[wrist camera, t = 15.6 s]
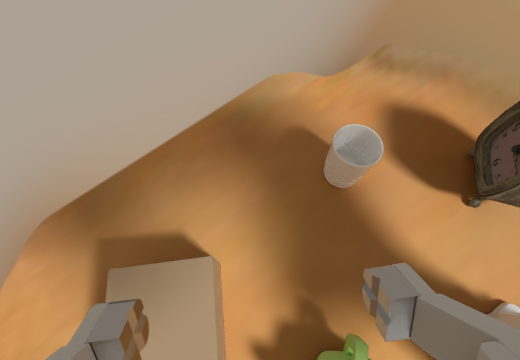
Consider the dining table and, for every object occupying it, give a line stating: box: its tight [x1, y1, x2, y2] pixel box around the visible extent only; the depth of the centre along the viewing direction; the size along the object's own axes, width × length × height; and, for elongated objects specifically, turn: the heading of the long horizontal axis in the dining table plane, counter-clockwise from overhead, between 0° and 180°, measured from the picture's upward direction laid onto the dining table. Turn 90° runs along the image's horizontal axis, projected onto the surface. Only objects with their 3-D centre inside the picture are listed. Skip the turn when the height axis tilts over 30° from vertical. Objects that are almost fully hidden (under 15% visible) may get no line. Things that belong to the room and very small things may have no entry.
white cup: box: [323, 124, 383, 188], centre depth 47 cm, size 8×8×10 cm
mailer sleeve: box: [105, 256, 226, 360], centre depth 37 cm, size 18×14×8 cm
